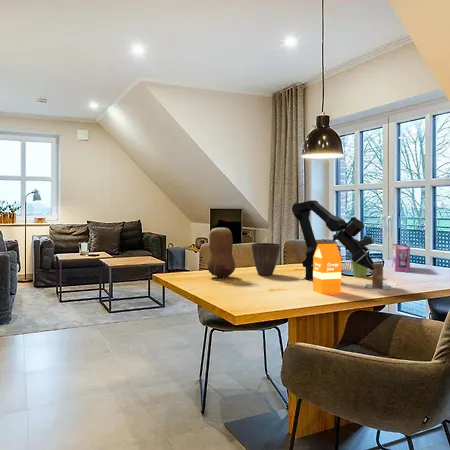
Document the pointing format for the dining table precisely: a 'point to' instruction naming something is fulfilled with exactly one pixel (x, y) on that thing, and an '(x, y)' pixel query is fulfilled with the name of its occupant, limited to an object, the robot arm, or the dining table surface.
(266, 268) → the plant pot
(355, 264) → the plant pot
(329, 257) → the orange juice
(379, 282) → the block
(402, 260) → the gum box
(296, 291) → the dining table surface
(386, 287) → the coaster
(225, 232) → the butternut squash
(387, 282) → the tile
